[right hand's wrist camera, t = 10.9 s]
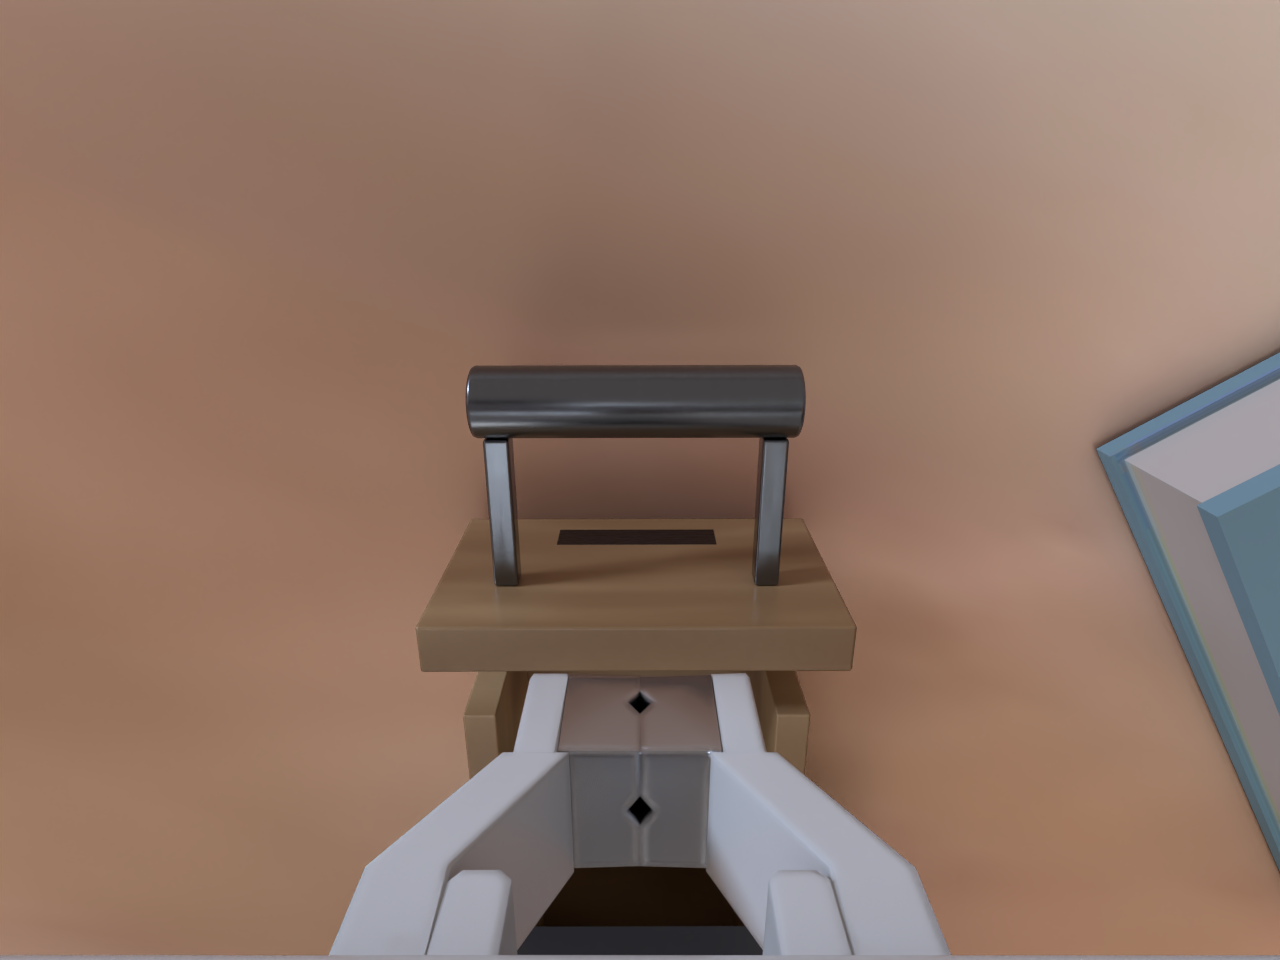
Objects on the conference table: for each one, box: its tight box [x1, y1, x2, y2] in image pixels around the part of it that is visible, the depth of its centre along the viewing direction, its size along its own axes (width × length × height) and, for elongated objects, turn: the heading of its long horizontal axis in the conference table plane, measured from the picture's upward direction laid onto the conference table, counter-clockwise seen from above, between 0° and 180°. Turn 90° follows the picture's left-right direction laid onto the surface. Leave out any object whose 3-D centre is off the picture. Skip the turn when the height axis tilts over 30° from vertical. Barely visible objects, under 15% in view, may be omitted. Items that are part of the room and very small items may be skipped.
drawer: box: [416, 365, 857, 926], centre depth 22 cm, size 24×10×6 cm, turn 0°
